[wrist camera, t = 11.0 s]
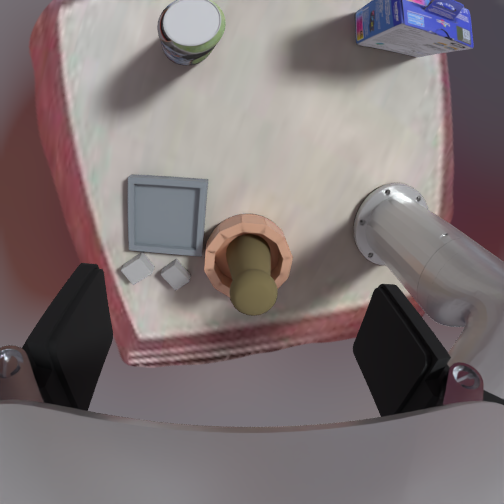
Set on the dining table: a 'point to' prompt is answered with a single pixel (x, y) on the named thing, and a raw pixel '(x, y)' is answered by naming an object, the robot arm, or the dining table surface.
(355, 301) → the dining table surface
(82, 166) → the dining table surface
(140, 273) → the light grey block
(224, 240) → the bowl
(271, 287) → the olive pestle
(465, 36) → the ink cartridge box
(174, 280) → the grey block
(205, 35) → the beverage can
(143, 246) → the tray
